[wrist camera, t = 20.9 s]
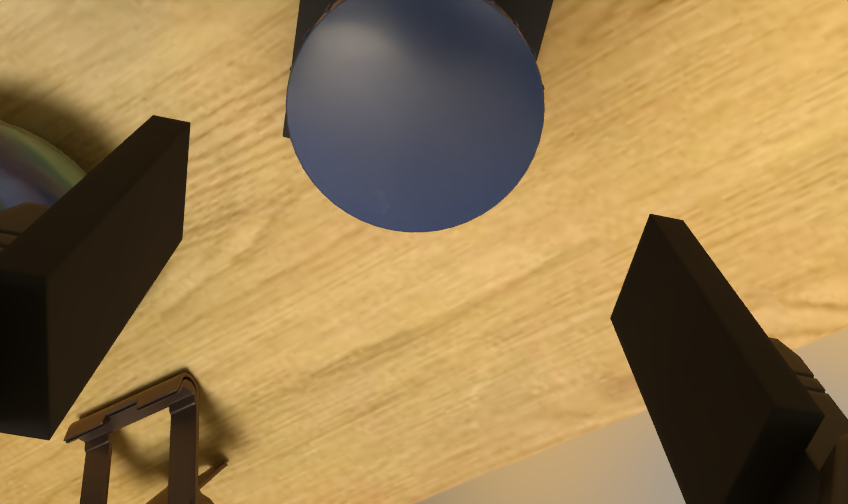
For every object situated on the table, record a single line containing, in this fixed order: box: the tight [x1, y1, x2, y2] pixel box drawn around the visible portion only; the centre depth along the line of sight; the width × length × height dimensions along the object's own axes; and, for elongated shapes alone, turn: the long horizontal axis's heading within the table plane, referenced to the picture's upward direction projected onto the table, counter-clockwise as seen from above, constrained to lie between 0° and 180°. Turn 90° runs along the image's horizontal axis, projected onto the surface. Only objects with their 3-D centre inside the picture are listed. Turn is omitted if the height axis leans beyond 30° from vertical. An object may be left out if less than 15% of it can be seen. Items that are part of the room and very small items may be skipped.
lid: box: [286, 0, 545, 232], centre depth 24 cm, size 8×8×2 cm
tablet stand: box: [64, 373, 227, 504], centre depth 46 cm, size 9×8×8 cm
